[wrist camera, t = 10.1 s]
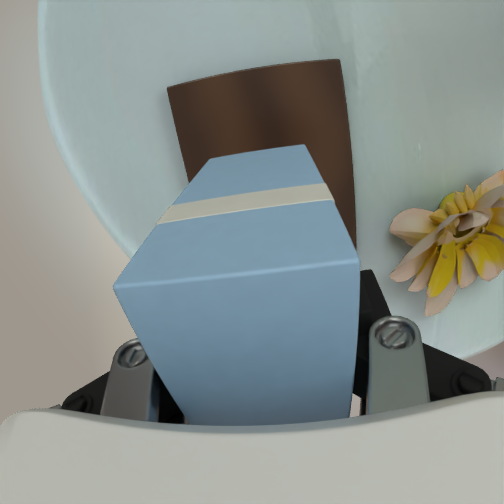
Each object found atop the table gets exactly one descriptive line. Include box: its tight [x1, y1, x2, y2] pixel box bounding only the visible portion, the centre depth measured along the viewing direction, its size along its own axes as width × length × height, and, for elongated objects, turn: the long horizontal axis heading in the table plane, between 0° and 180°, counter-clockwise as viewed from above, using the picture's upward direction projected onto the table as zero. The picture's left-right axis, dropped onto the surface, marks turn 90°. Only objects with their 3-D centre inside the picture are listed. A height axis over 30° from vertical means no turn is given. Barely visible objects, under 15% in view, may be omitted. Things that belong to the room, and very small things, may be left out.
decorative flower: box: [389, 170, 504, 317], centre depth 20 cm, size 15×11×10 cm
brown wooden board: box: [167, 59, 356, 250], centre depth 22 cm, size 12×16×1 cm
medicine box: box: [113, 144, 360, 426], centre depth 10 cm, size 4×8×9 cm, turn 10°
